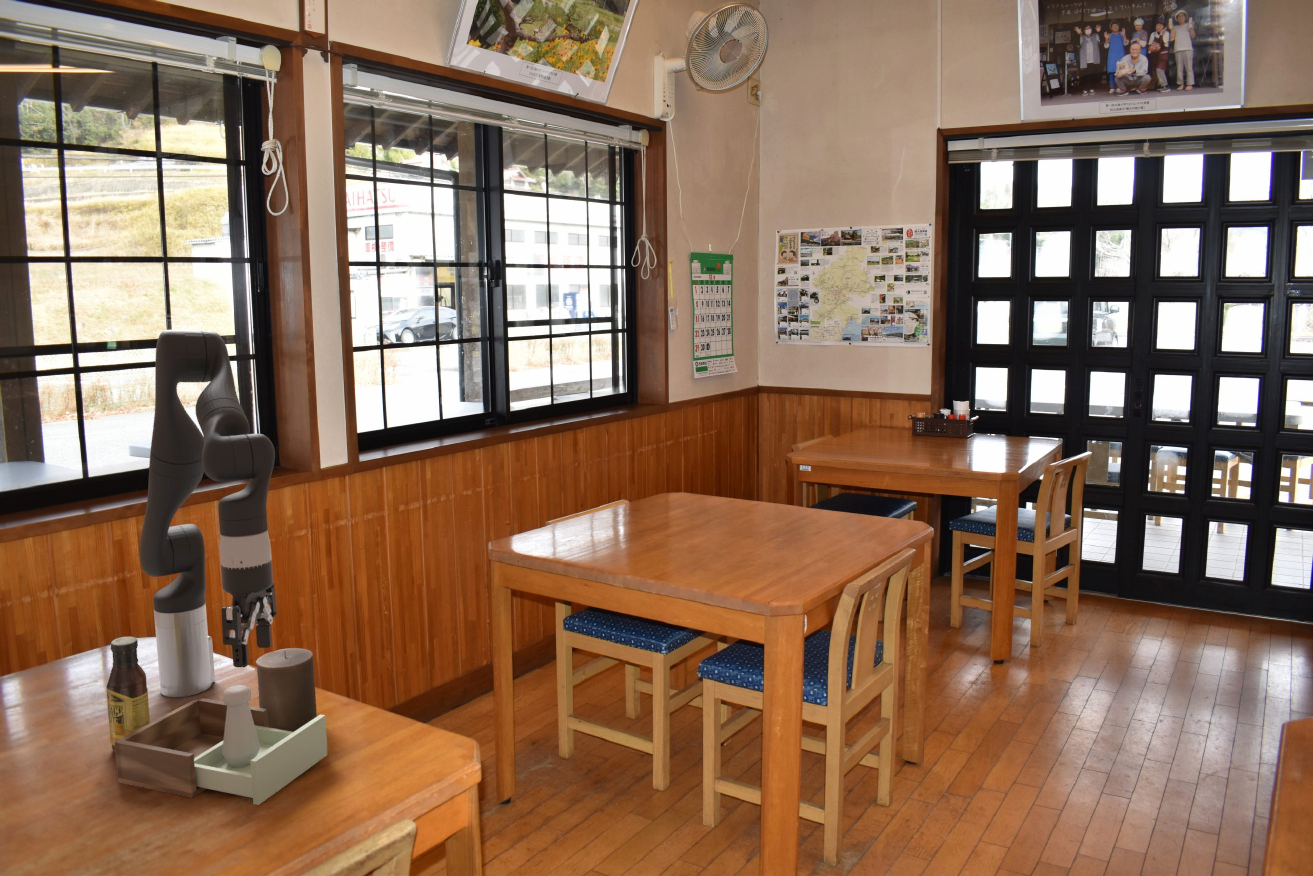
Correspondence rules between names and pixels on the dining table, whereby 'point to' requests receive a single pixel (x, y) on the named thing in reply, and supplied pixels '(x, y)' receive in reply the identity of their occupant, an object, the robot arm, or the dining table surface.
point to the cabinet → (175, 746)
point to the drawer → (265, 761)
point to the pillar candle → (287, 688)
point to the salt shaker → (239, 728)
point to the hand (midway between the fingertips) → (253, 656)
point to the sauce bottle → (126, 691)
